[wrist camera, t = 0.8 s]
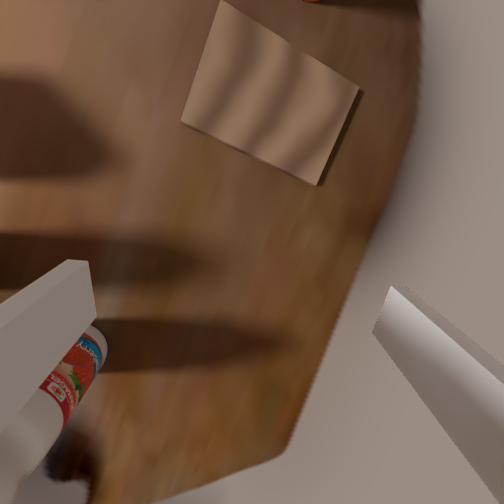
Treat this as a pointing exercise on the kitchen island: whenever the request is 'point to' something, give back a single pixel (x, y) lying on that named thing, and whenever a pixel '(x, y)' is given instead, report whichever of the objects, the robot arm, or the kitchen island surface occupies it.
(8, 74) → the kitchen island surface
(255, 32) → the walnut board
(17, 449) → the fruit juice
